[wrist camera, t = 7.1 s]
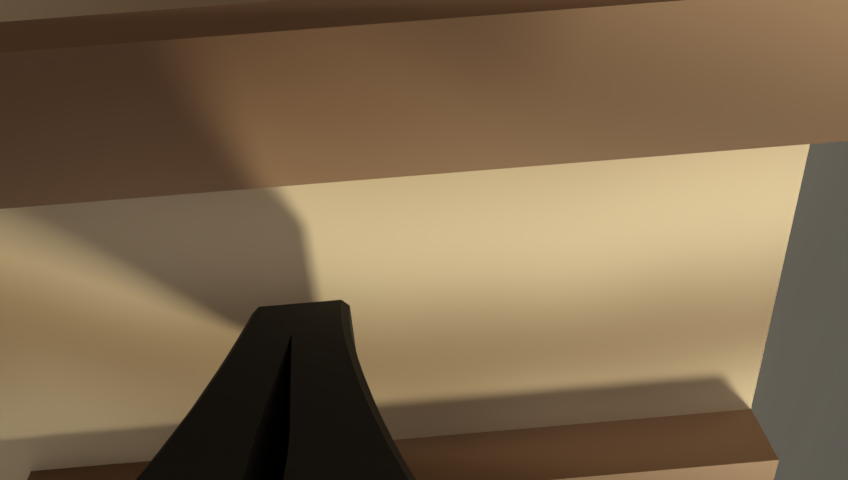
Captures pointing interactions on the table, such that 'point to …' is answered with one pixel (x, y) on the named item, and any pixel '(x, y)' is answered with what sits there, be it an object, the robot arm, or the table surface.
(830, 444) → the table surface
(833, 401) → the table surface
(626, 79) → the slot board
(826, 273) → the table surface
